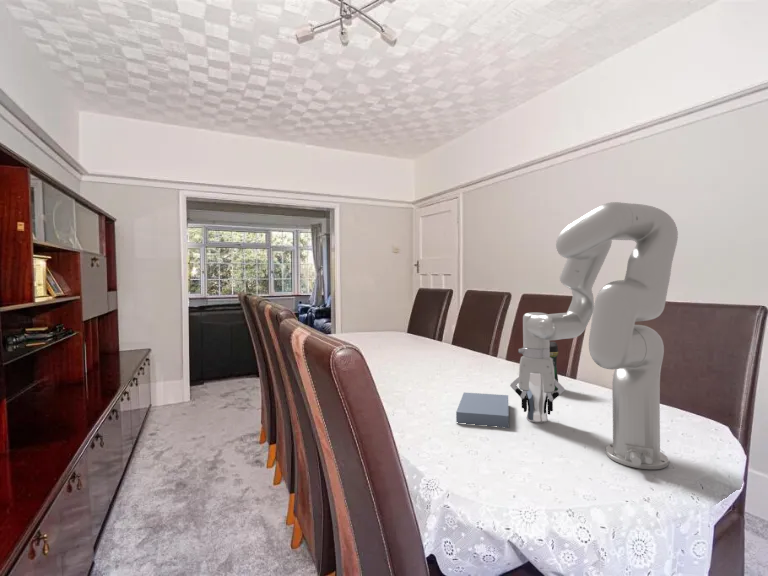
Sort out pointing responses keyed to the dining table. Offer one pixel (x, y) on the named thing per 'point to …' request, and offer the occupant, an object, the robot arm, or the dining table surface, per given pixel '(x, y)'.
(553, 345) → the coffee jar
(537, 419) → the beer glass
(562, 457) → the dining table surface
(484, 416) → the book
